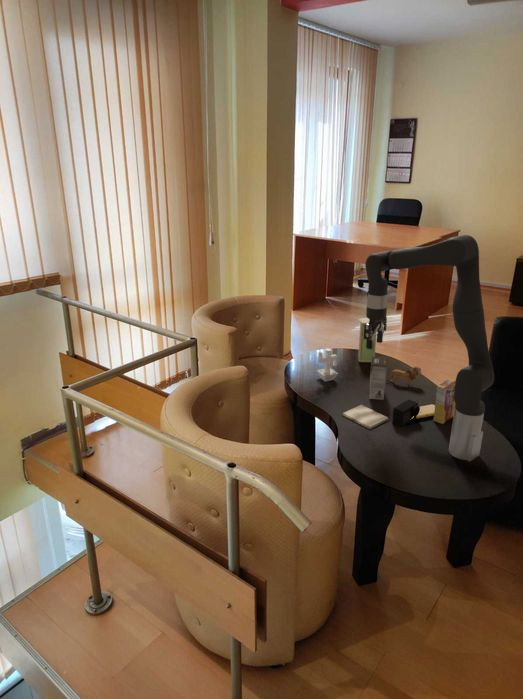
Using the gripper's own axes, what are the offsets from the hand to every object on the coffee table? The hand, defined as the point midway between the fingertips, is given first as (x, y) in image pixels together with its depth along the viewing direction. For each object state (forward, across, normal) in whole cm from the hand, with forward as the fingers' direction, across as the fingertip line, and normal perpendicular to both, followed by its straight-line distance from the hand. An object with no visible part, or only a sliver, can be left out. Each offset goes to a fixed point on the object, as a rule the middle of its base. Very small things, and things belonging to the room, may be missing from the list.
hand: (374, 345), depth 196 cm
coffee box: (+28, +13, +4) cm, 31 cm away
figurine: (+28, +14, +30) cm, 43 cm away
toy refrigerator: (+27, +45, +26) cm, 58 cm away
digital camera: (+29, 0, -15) cm, 32 cm away
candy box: (+29, +11, -26) cm, 40 cm away
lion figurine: (+28, +31, -1) cm, 41 cm away
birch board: (+28, -7, -2) cm, 29 cm away
